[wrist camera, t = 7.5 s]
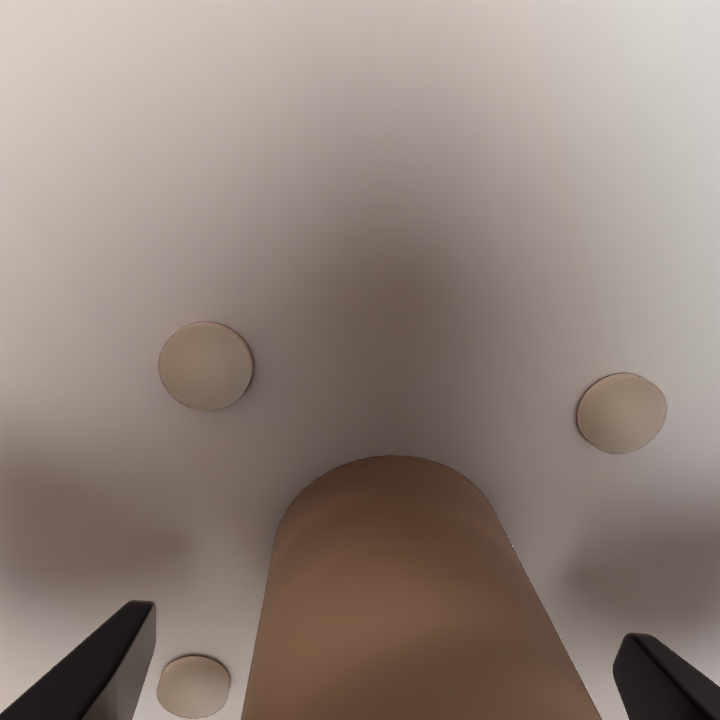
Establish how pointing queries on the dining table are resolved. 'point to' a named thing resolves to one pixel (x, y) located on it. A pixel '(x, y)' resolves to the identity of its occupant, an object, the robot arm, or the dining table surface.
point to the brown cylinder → (404, 608)
